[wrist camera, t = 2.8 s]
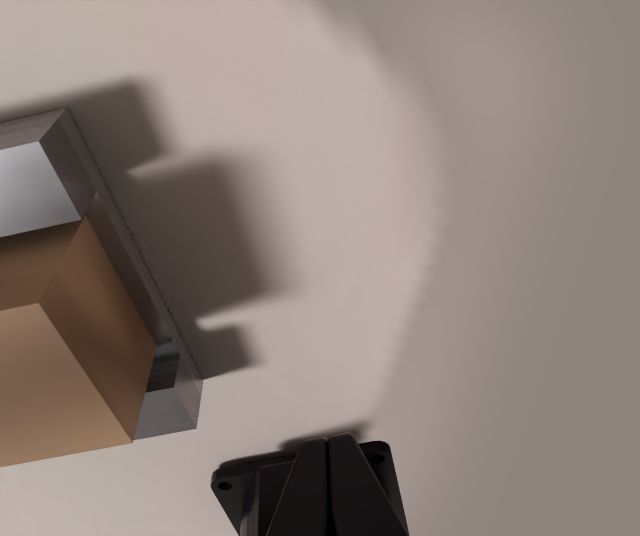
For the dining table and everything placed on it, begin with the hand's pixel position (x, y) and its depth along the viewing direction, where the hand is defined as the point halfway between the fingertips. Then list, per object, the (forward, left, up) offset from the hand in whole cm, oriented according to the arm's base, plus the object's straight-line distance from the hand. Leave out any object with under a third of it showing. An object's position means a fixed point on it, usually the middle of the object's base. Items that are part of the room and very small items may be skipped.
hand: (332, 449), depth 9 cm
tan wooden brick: (0, +8, -6) cm, 10 cm away
